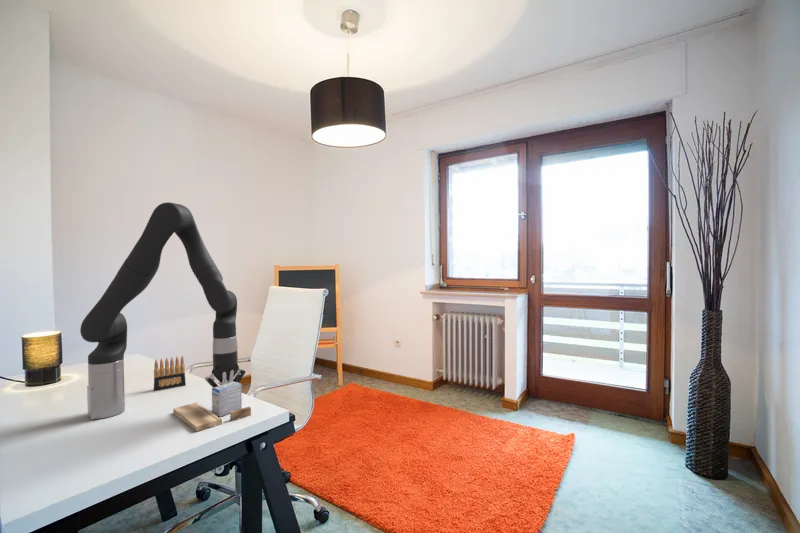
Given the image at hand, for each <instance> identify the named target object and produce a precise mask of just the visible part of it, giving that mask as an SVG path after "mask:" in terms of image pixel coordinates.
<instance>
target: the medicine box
mask: <svg viewBox="0 0 800 533" xmlns="http://www.w3.org/2000/svg"><path fill="white" fill-rule="evenodd" d="M242 392H243V391H242V383H240V382H239V383H238V382H231V383H226V384H223V385H220V384H219V385H218V386H217V387H214V388H213V387H212V388H211V408H212V409H211V412H212V413H213V414H215V415H216V416H219V418H221V417H223V416H226V415H228V414H229V415H230V412H232V411H235V410H239V409H242V407H243V402H242V400H243V399H242V396H243V395H242Z"/></svg>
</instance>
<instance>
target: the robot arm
mask: <svg viewBox="0 0 800 533" xmlns="http://www.w3.org/2000/svg"><path fill="white" fill-rule="evenodd" d="M174 234H175V235H176V236H177V237H178V239H179V240H180V241H181V243H182V246H183V247H184V249H185V252H186V256H187V260H188V263H189V266H190V270H191V271H192V273H193V275H194V277H195V278H196V279H197V282H198V283H199V285H200V286H201V288H202V290H203V293H204V295H205V299H206V301H207V303H208V305H209V306H210V308H211V309H212V310H213V311H214V312H215V320H214V321H213V325H212V370H211V374H210V375H209V376H206V377H205V378H204V380H205V381H206V383H208V384H209V385H210V387H212V388H214V387H217V386H220V385H223V384H226V383H231V382H238V383H240V382H241V381H242V378H243V377H244V376H245V374H246V370H244V369H242V368H240V367H239V365H238V362H239V361H238V358H239V357H238V340H237V327H236V326H237V323H236V321H237V320H236V319H237V312H238V299H237V296H236V294H235V293H234V292H233V291H230V290H228V289H227V287H226V285H225V284H224V282H223V280H224V278H223V275H222V273H221V272H220V269H218V267H217V265H216V263H215V261H214V260H213V258H212V256H211V254H210V253H209V251H208V249H207V247H206V245H205V242H204V240H203V238H202V235H201V234H200V231H199V229H198V225H197V224H196V220H195V218H194V216H193V213H192V212H191V210H190V209H189V208H188V207H187V206H185V205H183V204H180V203H176V202H175V203H174V202H162V203H160V204H159V205H157V206H156V207H155V208H154V210H153V211H152V213H151V215H150V217H149V219H148V222H147V223H146V226H145V228H144V230H143V232H142V234H141V236H140V237H139V238H138V241H137V242H136V243H135V245H134V247H133V248H132V250H131V251H130V252H129V254H128V255H127V257H126V258H125V260H124V262H122V264H121V266H120V268H119V269H118V271H117V273H116V275H115V276H114V277H113V279H112V281H111V282H110V283H109V285H108V287H107V288H106V290H105V291H104V293H103V295H102V296H101V297H100V299H99V300H98V301H97V302H96V303H95V305H94V306H93V308H91V310H90V311H89V312H88V313H87V314H86V315H85V317H84V318H83V320H82V322H81V325H80V330H79V333H80V336H81V337H82V340H84V341H85V342H88V343H97V345H96V347H95V349H93V350H92V351H91V352H90V353H89V354H88V356H87V372H88V373H87V378H88V379H87V381H88V384H87V387H86V389H87V391H86V392H87V393H86V394H87V395H86V396H87V399H86V400H87V402H86V403H87V416H88V418H89V420H92V421H93V420H97V419H106V418H111V417H115V416H117V415H120V414H121V413H123V412H125V411H126V409H125V408H126V402H125V400H126V398H125V397H126V396H125V395H126V394H125V362H124V361H125V360H124V359H125V357H124V356H125V353H126V350H127V345H128V323H127V319H126V316H125V315H124V314H123V313H121V311H122V310H123V309H124V308H125V307H126V306H127V305H128V304H129V303H131V301H133V300H134V299H135V298H137V297H138V296H139V295H140V294H141V293H143V291H145V290H146V289H147V287H149V285H150V283H151V282H152V280H153V279H154V277H155V275H156V274H157V272H158V270H159V267H160V265H161V257H162V252H163V249H164V247H165V245H166V244H167V242H168V241H169V239H171V237H172V236H173V235H174ZM215 378H216V379H215ZM216 380H217V381H218V383H219V384H217V383H216V382H215V381H216Z"/></svg>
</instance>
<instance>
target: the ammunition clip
mask: <svg viewBox="0 0 800 533" xmlns="http://www.w3.org/2000/svg"><path fill="white" fill-rule="evenodd" d="M179 360H180V361H179ZM153 366H154V370H153V392H156V391H162V390H168V389H174V388H180V387H184V386H185V387H186V385H187V384H186V370H185V367H186V366H185V359H184V356H183V355H181V358H180V359H179V357H178V356H176V357H175V362H174V357H172V356H171V358H170V362H169V358H168V357H166V358H165V361H163V359H162V358H160V360H159V362H158V359H156V358H155V361H154V365H153Z"/></svg>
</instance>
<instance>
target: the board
mask: <svg viewBox="0 0 800 533" xmlns="http://www.w3.org/2000/svg"><path fill="white" fill-rule="evenodd" d="M172 410H173V412H172V413H173V414H174V416H176V417H177V418H179V419H180V420H181V419H182V421H183V422H184V423H185V424H186V423H187V424H186V425H187V426H189V427H190V428H191V429H192V430H194V431H195V432H197V431H198V432H201V431H203V429H204V430H207V429H210V428H209V427H211V428H213V427H212V426H214V427H216V426H215V425H217V426H219V425H218V424H220V425H222V424H223V422H222V420H223V418H221V417H218V416H216V415H215V414H213V413H212V411H210V410H208V409H207V408H206V407H204V406H203V405H201V404H199V403H198V402H193V403H189V404H185V405H182V406H177V407H174V408H172ZM206 428H207V429H206ZM200 430H201V431H200ZM198 432H197V433H198Z"/></svg>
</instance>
